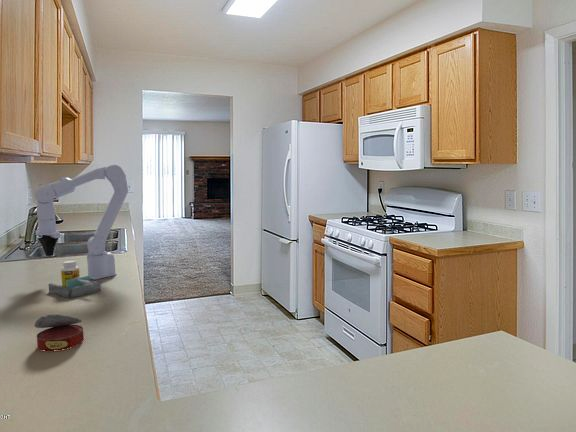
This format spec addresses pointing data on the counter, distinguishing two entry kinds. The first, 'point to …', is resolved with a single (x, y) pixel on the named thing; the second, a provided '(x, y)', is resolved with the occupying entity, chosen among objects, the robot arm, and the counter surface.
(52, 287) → the grey piece
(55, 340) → the canned food
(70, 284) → the pusher
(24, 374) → the counter surface
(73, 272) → the supplement bottle
